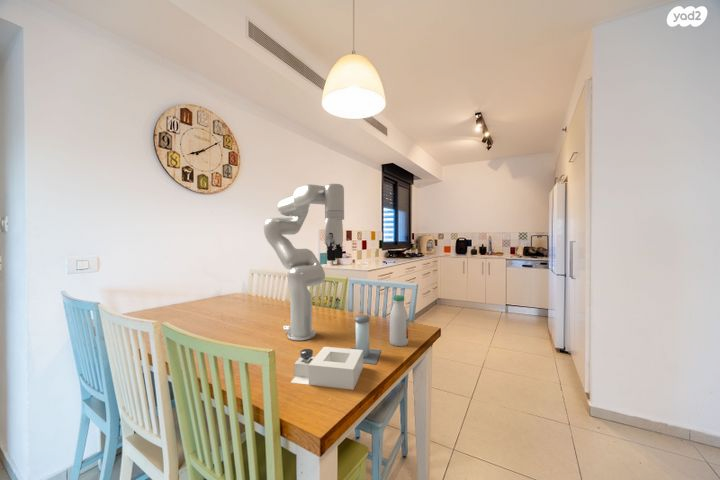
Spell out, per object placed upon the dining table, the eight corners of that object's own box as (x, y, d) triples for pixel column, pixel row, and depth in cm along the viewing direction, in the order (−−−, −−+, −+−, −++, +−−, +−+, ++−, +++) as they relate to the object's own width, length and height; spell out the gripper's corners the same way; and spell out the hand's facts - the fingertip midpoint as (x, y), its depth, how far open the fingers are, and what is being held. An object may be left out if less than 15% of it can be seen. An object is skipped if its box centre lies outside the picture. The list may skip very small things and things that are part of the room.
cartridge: (363, 359, 103) (362, 320, 102) (352, 355, 107) (351, 317, 106) (373, 354, 107) (372, 316, 107) (362, 350, 111) (361, 314, 110)
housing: (288, 385, 88) (288, 362, 88) (306, 364, 102) (306, 345, 102) (353, 392, 84) (353, 369, 84) (363, 370, 98) (363, 349, 97)
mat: (342, 364, 102) (342, 360, 102) (351, 350, 114) (351, 347, 114) (376, 367, 100) (376, 363, 100) (381, 352, 111) (381, 349, 111)
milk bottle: (403, 348, 116) (403, 299, 115) (386, 344, 120) (386, 296, 119) (410, 342, 122) (410, 295, 122) (394, 338, 126) (394, 293, 126)
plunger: (298, 373, 93) (298, 353, 93) (303, 367, 97) (303, 348, 97) (310, 374, 92) (309, 354, 92) (314, 368, 96) (314, 349, 96)
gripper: (332, 217, 122) (332, 257, 122) (317, 214, 105) (318, 261, 106) (349, 216, 120) (349, 257, 121) (337, 214, 103) (337, 261, 104)
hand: (335, 259), depth 113 cm, fingers open, 9 cm apart
